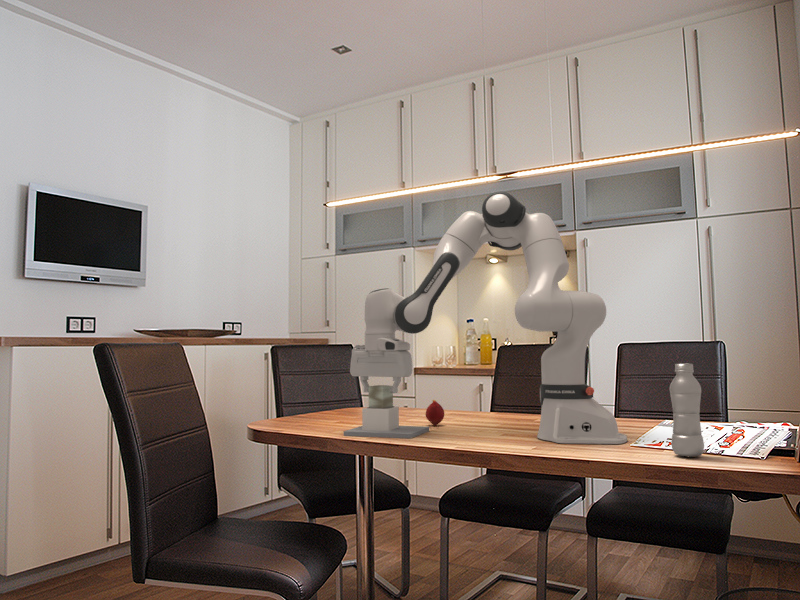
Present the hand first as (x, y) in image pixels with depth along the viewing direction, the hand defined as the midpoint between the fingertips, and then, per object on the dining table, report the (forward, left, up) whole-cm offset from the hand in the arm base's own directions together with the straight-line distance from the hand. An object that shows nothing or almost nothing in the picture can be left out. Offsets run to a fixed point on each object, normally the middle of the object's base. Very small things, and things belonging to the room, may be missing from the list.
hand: (380, 392), depth 178 cm
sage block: (0, 0, -4) cm, 4 cm away
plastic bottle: (-79, +17, -12) cm, 82 cm away
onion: (-10, -20, -12) cm, 25 cm away
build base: (-2, 0, -12) cm, 12 cm away
